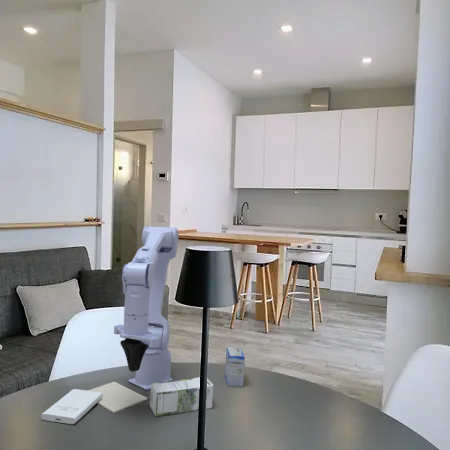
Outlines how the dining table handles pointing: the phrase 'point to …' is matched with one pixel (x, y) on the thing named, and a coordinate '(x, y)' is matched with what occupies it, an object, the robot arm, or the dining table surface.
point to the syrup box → (178, 396)
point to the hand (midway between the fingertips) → (134, 370)
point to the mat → (117, 397)
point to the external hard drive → (72, 406)
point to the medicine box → (234, 367)
